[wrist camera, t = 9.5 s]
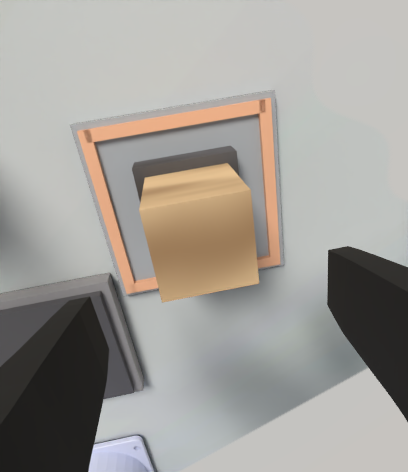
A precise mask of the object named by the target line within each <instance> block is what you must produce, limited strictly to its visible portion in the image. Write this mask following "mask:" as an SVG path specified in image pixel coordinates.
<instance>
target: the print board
mask: <svg viewBox="0 0 408 472" xmlns="http://www.w3.org/2000/svg"><path fill="white" fill-rule="evenodd" d="M70 127H71V130H72V133H73V137H74V140H75V143H76V146H77V149H78V152H79V156H80V159H81V162H82V165H83V168H84V172H85V175H86V178H87V181H88V184H89V188H90V191H91V194H92V197H93V200H94V204H95V207H96V210H97V213H98V216H99V220H100V223H101V226H102V229H103V232H104V235H105V239H106V242H107V245H108V248H109V251H110V255H111V258H112V261H113V264H114V267H115V271H116V274H117V277H118V280H119V283H120V287H121V290H122V293H123V296H127V295H133V294H138V293H143V292H148V291H153V290H158V289H159V288H158V284H157V280H156V276H155V272H154V268H153V264H152V260H151V256H150V252H149V248H148V244H147V240H146V236H145V232H144V228H143V224H142V220H141V216H140V212H139V208H140V200H139V196H138V192H137V188H136V184H135V180H134V176H133V172H132V167H133V164H134V162H139V161H145V160H151V159H156V158H162V157H168V156H173V155H179V154H185V153H191V152H196V151H202V150H208V149H213V148H219V147H225V146H232V147H233V148H234V149H235V150H236V151H237V159H238V168H239V177H240V178H241V179H242V180H243V181H244V183H245V184H246V185H247V186H248V187H249V188H250V190H251V197H252V208H253V219H254V231H255V242H256V253H257V264H258V270H261V269H266V268H271V267H276V266H281V265H284V260H283V241H282V221H281V202H280V183H279V163H278V144H277V125H276V105H275V90H270V91H264V92H258V93H252V94H246V95H241V96H235V97H229V98H223V99H217V100H211V101H205V102H199V103H194V104H188V105H182V106H176V107H170V108H164V109H158V110H152V111H147V112H141V113H135V114H129V115H123V116H117V117H111V118H105V119H100V120H94V121H88V122H82V123H76V124H72V125H70Z"/></svg>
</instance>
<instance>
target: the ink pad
mask: <svg viewBox="0 0 408 472" xmlns="http://www.w3.org/2000/svg"><path fill="white" fill-rule="evenodd" d="M89 296H90V298H91V301H92V303H93V306H94V309H95V312H96V314H97V317H98V320H99V322H100V325H101V328H102V331H103V333H104V336H105V339H106V341H107V344H108V347H109V361H108V374H107V383H106V388H105V393H104V398H103V399H106V398H111V397H116V396H121V395H126V394H130V393H134V392H137V391H142V390H143V386H144V377H143V374H142V371H141V368H140V365H139V362H138V359H137V355H136V352H135V349H134V346H133V343H132V340H131V337H130V334H129V331H128V328H127V325H126V321H125V318H124V315H123V312H122V309H121V306H120V303H119V300H118V297H117V294H116V290H115V287H114V284H113V281H112V278H111V275H110V273H106V274H100V275H95V276H90V277H85V278H79V279H74V280H69V281H64V282H58V283H53V284H48V285H43V286H38V287H32V288H27V289H22V290H17V291H11V292H6V293H1V294H0V367H1V366H2V365H3V364H4V363H5V362H6V361H7V360H8V359H9V358H10V357H11V356H13V355H14V354H15V353H16V352H17V351H18V350H19V349H20V348H21V347H22V346H23V345H24V344H25V343H26V342H27V341H28V340H29V339H30V338H31V337H32V336H33V335H34V334H35V333H36V332H37V331H38V330H39V329H40V328H41V327H42V326H43V325H44V324H45V323H46V322H47V321H48V320H49V319H50V318H51V317H52V316H53V315H54V314H55V313H56V312H57V311H58V310H59V309H60V308H61V307H62V306H63V305H64V304H66V303H67V302H68V301H69V300H74V299H79V298H84V297H89Z"/></svg>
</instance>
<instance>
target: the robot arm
mask: <svg viewBox="0 0 408 472" xmlns="http://www.w3.org/2000/svg"><path fill="white" fill-rule="evenodd" d="M327 305H328V307H329V309H330V310H331V312H332V314H333V316H334V318H335V320H336V322H337V323H338V325H339V327H340V328H341V330H342V332H343V333H344V335H345V336H346V338H347V339H348V340H349V342H350V343H351V344H352V346H353V347H354V349H355V350H356V351H357V353H358V354H359V355H360V357H361V358H362V359H363V361H364V362H365V363H366V365H367V366H368V367H369V369H370V370H371V371H372V373H373V374H374V375H375V376H376V378H377V379H378V380H379V382H380V383H381V384H382V386H383V387H384V388H385V389H386V391H387V392H388V394H389V395H390V396H391V398H392V399H393V401H394V402H395V403H396V405H397V406H398V408H399V409H400V411H401V412H402V414H403V415H404V417H405V418H406V420H407V422H408V267H405V266H403V265H400V264H397V263H395V262H392V261H389V260H387V259H384V258H381V257H379V256H376V255H373V254H370V253H368V252H365V251H362V250H359V249H356V248H352V247H349V246H347V247H342V248H337V249H332V250H328V303H327ZM108 361H109V347H108V344H107V341H106V339H105V336H104V333H103V331H102V328H101V325H100V322H99V320H98V317H97V314H96V312H95V309H94V306H93V303H92V301H91V298H90V296H89V297H84V298H79V299H74V300H69V301H68V302H67V303H66V304H64V305H63V306H62V307H61V308H60V309H59V310H58V311H57V312H56V313H55V314H54V315H53V316H52V317H51V318H50V319H49V320H48V321H47V322H46V323H45V324H44V325H43V326H42V327H41V328H40V329H39V330H38V331H37V332H36V333H35V334H34V335H33V336H32V337H31V338H30V339H29V340H28V341H27V342H26V343H25V344H24V345H23V346H22V347H21V348H20V349H19V350H18V351H17V352H16V353H15V354H14V355H13V356H11V357H10V358H9V359H8V360H7V361H6V362H5V363H4V364H3V365H2V366H1V367H0V472H154V469H153V466H152V464H151V461H150V458H149V456H148V453H147V450H146V447H145V445H144V442H143V439H142V438H141V437H140V436H131V437H126V438H122V439H117V440H112V441H108V442H103V443H98V444H94V441H95V436H96V432H97V427H98V422H99V417H100V413H101V408H102V403H103V398H104V393H105V388H106V383H107V374H108Z"/></svg>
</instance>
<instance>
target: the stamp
mask: <svg viewBox="0 0 408 472" xmlns="http://www.w3.org/2000/svg"><path fill="white" fill-rule="evenodd" d="M132 172H133V176H134V180H135V184H136V188H137V192H138V196H139V200H140V208H139V212H140V216H141V220H142V224H143V228H144V232H145V236H146V240H147V244H148V248H149V252H150V256H151V260H152V264H153V268H154V272H155V276H156V280H157V284H158V288H159V292H160V296H161V300H162V302H167V301H172V300H177V299H182V298H188V297H193V296H198V295H203V294H208V293H213V292H218V291H223V290H229V289H234V288H239V287H244V286H249V285H254V284H259V275H258V264H257V253H256V242H255V231H254V219H253V208H252V197H251V190H250V188H249V187H248V186H247V185H246V184H245V183H244V181H243V180H242V179H241V178H240V177H239V168H238V159H237V151H236V150H235V149H234V148H233V147H232V146H225V147H219V148H213V149H208V150H202V151H196V152H191V153H185V154H179V155H173V156H168V157H162V158H156V159H151V160H145V161H139V162H134V164H133V167H132Z"/></svg>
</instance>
